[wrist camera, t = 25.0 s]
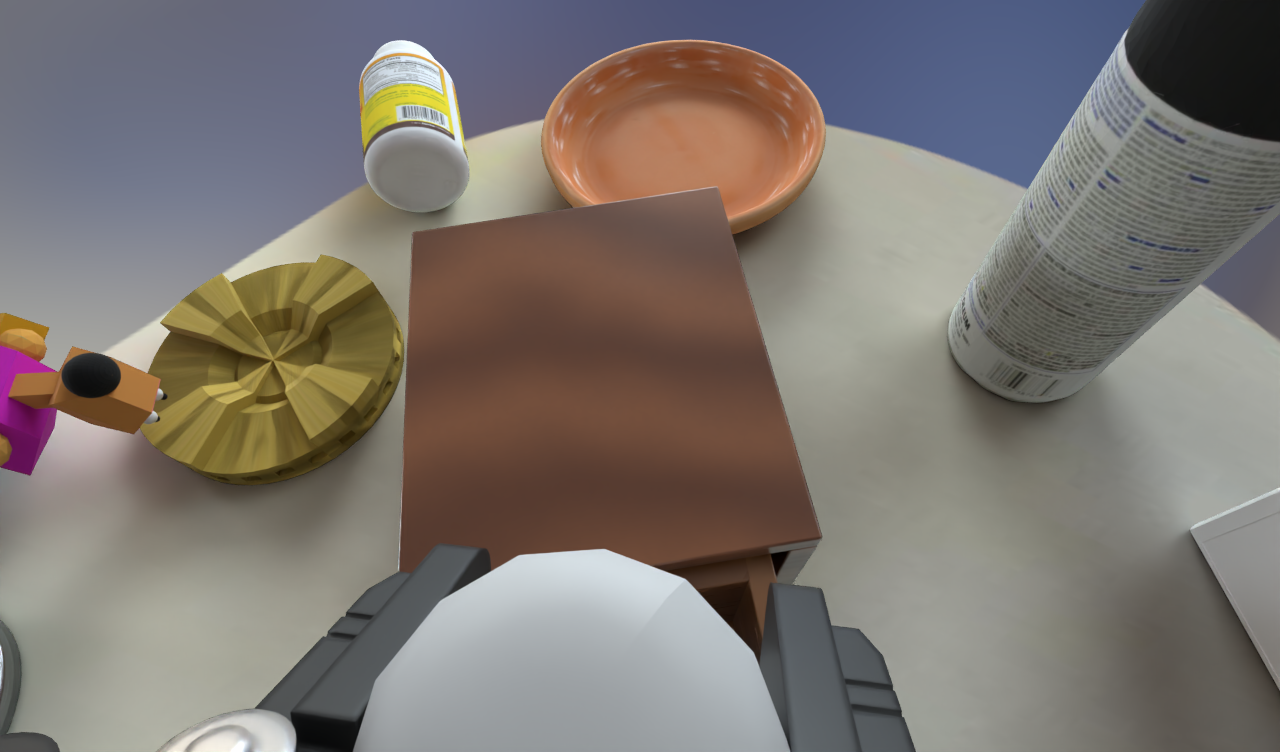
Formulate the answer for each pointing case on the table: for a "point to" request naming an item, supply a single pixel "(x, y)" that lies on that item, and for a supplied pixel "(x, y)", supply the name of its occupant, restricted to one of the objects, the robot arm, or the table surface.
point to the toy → (62, 393)
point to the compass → (274, 371)
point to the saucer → (685, 129)
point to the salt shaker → (573, 667)
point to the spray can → (1131, 200)
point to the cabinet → (596, 393)
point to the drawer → (736, 593)
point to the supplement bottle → (411, 129)
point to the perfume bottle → (1249, 568)
